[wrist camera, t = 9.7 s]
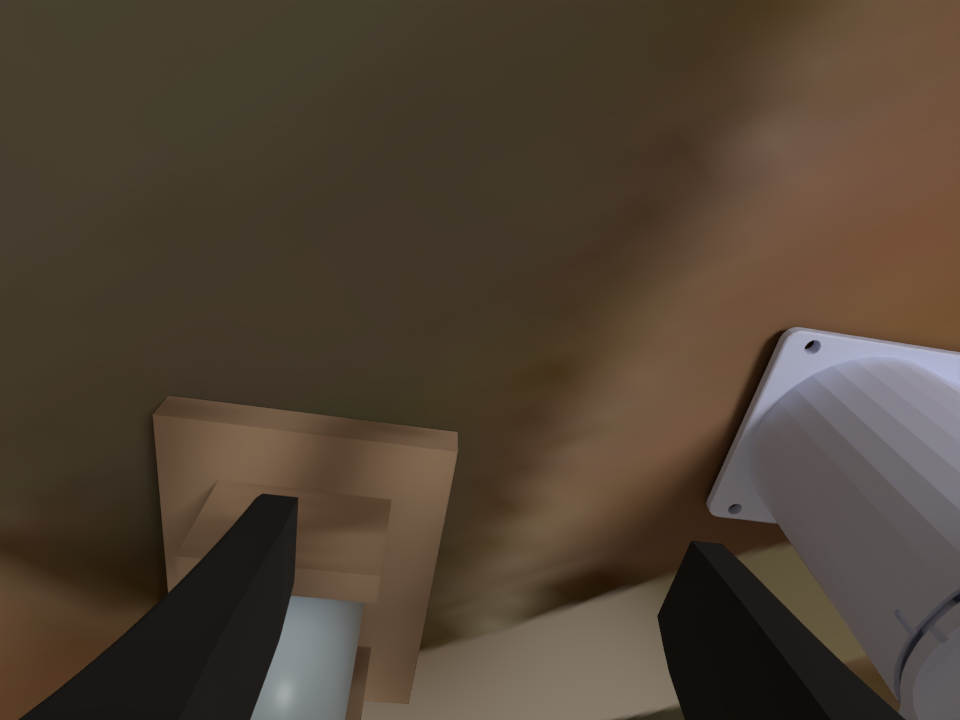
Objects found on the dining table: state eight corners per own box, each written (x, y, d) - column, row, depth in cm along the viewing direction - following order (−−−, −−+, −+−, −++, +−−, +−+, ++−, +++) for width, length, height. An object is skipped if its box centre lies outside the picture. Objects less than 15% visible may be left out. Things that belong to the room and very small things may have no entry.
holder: (457, 432, 21) (457, 524, 17) (410, 678, 28) (402, 790, 24) (168, 395, 20) (94, 484, 16) (187, 661, 27) (137, 774, 22)
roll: (375, 541, 22) (343, 732, 16) (359, 631, 24) (325, 829, 18) (236, 523, 21) (147, 715, 15) (233, 617, 24) (154, 818, 18)
